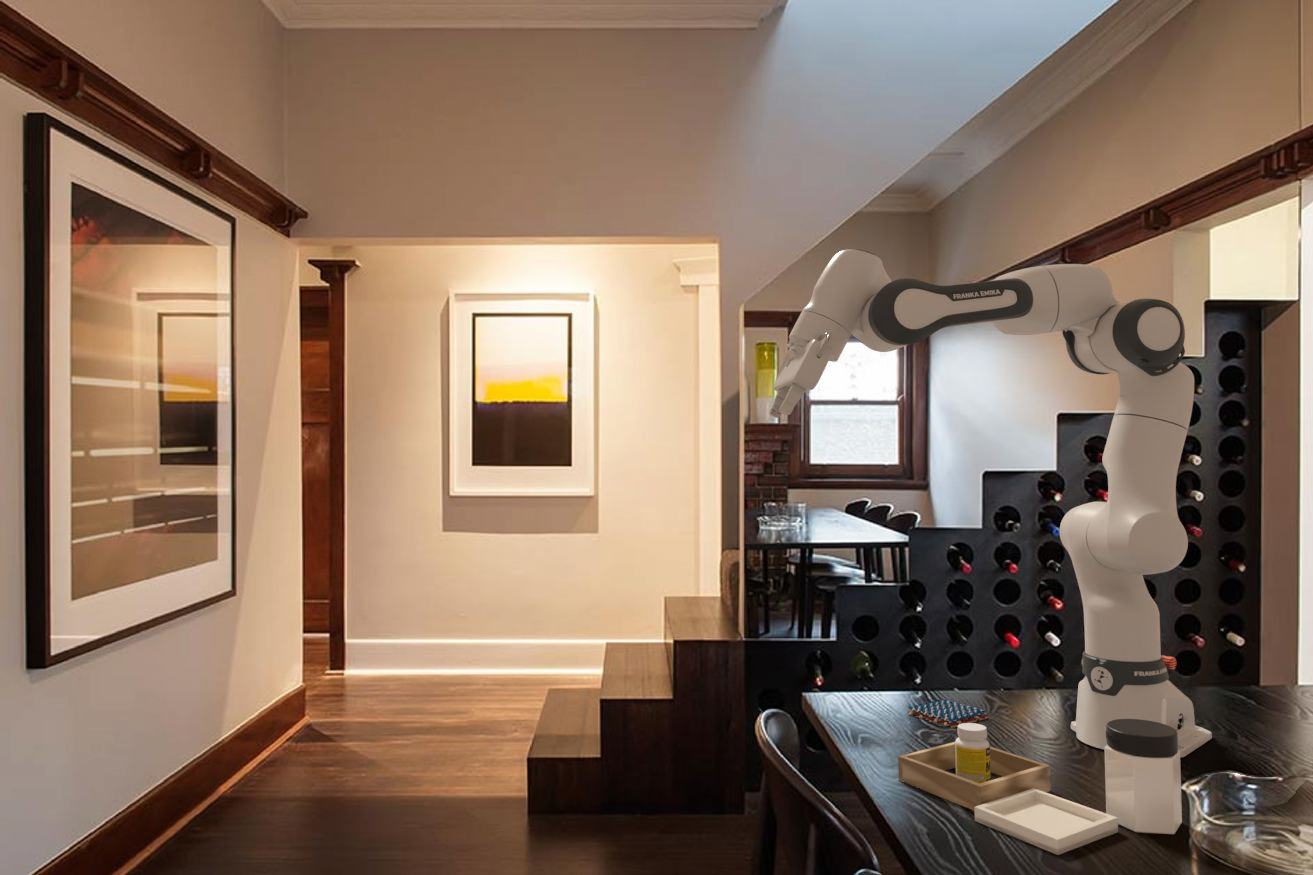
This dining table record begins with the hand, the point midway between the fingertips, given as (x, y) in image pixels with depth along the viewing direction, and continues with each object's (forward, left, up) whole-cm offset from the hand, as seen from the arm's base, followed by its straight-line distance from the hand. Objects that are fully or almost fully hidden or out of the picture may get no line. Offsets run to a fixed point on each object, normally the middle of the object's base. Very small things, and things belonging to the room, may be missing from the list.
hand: (778, 415), depth 146 cm
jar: (-21, +47, -55) cm, 75 cm away
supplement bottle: (-13, +26, -55) cm, 62 cm away
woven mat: (-37, +1, -55) cm, 66 cm away
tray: (-9, +41, -54) cm, 69 cm away
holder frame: (-13, +26, -54) cm, 62 cm away
